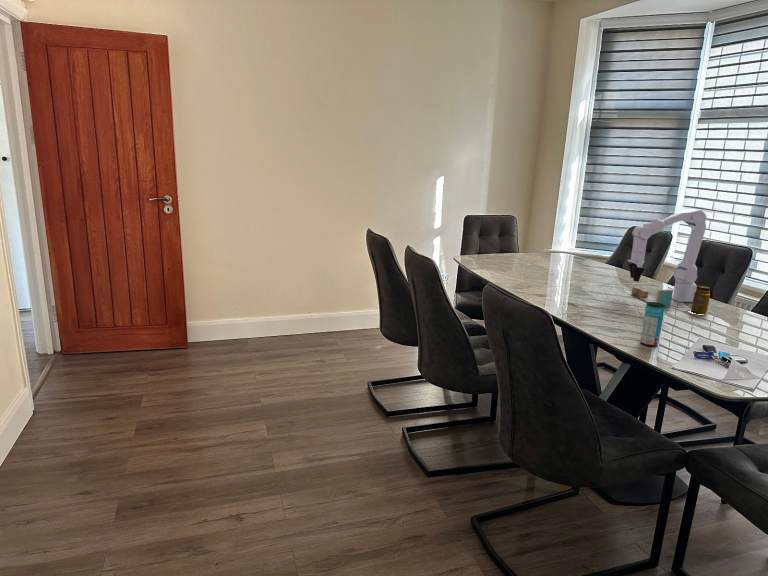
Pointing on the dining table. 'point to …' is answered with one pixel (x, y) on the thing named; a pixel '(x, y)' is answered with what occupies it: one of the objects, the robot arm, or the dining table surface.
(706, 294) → the condiment
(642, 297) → the tall wooden plank
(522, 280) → the dining table surface
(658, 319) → the beverage can
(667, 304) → the tile
